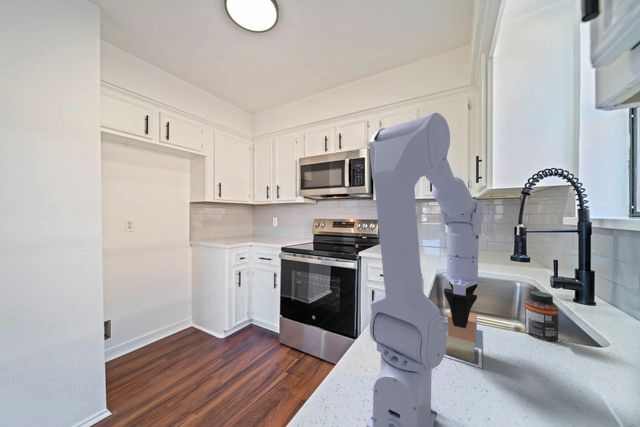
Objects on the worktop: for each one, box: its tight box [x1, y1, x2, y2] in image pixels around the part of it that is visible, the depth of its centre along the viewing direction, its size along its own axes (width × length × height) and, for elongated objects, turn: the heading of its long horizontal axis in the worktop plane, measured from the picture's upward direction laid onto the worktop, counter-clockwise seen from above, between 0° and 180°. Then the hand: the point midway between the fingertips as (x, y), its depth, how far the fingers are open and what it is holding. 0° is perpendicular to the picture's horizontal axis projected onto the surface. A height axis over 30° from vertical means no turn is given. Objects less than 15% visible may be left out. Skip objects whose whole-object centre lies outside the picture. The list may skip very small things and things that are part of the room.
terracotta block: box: [447, 309, 478, 343], centre depth 51 cm, size 5×5×4 cm
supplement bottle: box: [524, 290, 559, 343], centre depth 59 cm, size 6×6×11 cm
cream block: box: [446, 330, 475, 362], centre depth 51 cm, size 5×5×4 cm
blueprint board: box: [442, 321, 484, 370], centre depth 57 cm, size 18×14×1 cm
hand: (460, 319), depth 51 cm, fingers open, 7 cm apart
